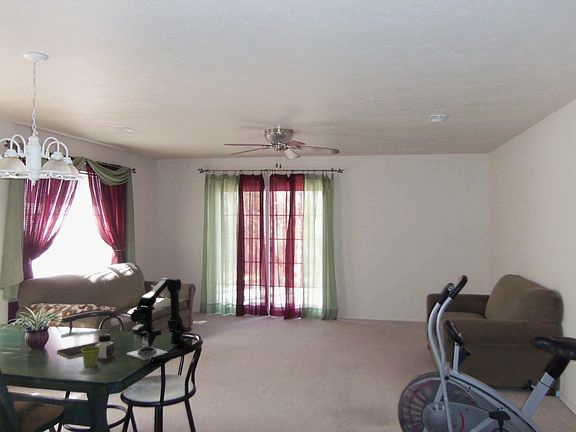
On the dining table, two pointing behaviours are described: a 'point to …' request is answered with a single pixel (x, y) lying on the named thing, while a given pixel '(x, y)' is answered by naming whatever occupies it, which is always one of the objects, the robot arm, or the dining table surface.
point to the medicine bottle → (105, 346)
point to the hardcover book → (75, 350)
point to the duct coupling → (145, 344)
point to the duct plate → (143, 357)
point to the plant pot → (90, 356)
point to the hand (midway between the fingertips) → (147, 346)
